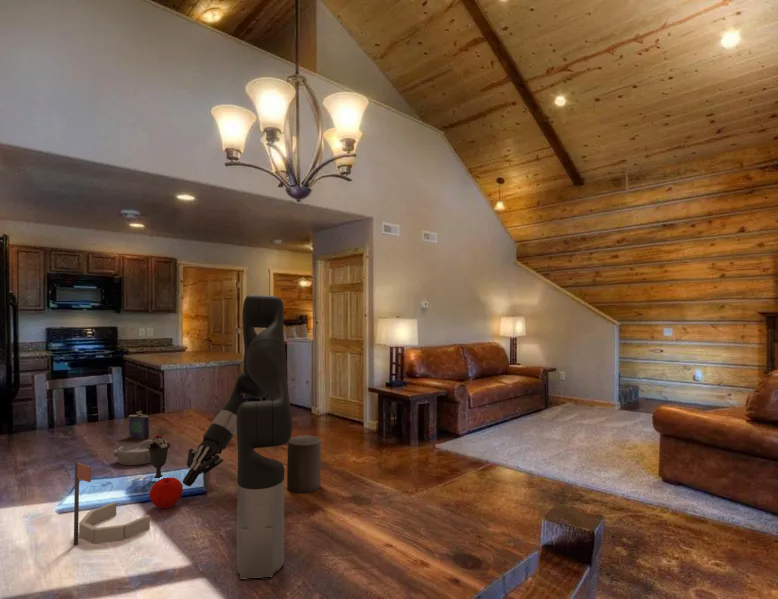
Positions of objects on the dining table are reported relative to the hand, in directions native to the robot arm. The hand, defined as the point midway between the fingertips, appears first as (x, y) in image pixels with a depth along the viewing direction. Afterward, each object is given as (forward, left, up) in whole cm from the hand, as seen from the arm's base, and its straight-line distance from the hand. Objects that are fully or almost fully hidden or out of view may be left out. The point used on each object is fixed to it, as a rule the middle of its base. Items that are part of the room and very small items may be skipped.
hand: (186, 484), depth 122 cm
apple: (-5, +3, -4) cm, 7 cm away
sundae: (+15, +13, -4) cm, 21 cm away
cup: (-17, +12, -4) cm, 22 cm away
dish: (+34, +26, -4) cm, 43 cm away
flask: (+61, +39, -4) cm, 73 cm away
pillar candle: (+5, -32, -4) cm, 32 cm away
